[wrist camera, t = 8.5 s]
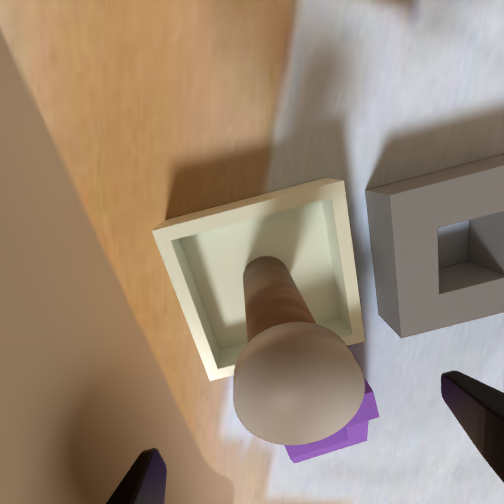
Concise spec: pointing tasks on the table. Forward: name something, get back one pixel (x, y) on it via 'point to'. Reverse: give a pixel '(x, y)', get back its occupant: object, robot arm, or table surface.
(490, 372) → the table surface
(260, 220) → the tray
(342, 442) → the bracket
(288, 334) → the peg
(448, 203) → the holder
